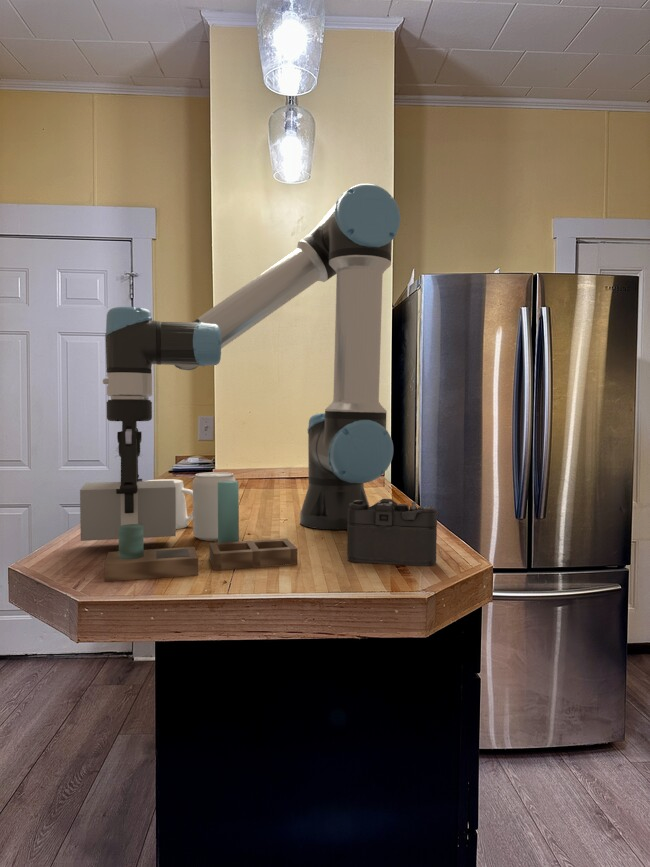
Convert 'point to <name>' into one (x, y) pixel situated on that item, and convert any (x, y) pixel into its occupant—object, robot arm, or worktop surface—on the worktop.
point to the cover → (105, 509)
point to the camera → (391, 533)
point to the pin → (228, 511)
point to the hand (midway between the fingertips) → (130, 525)
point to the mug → (180, 503)
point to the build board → (252, 554)
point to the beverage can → (207, 504)
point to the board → (147, 558)
